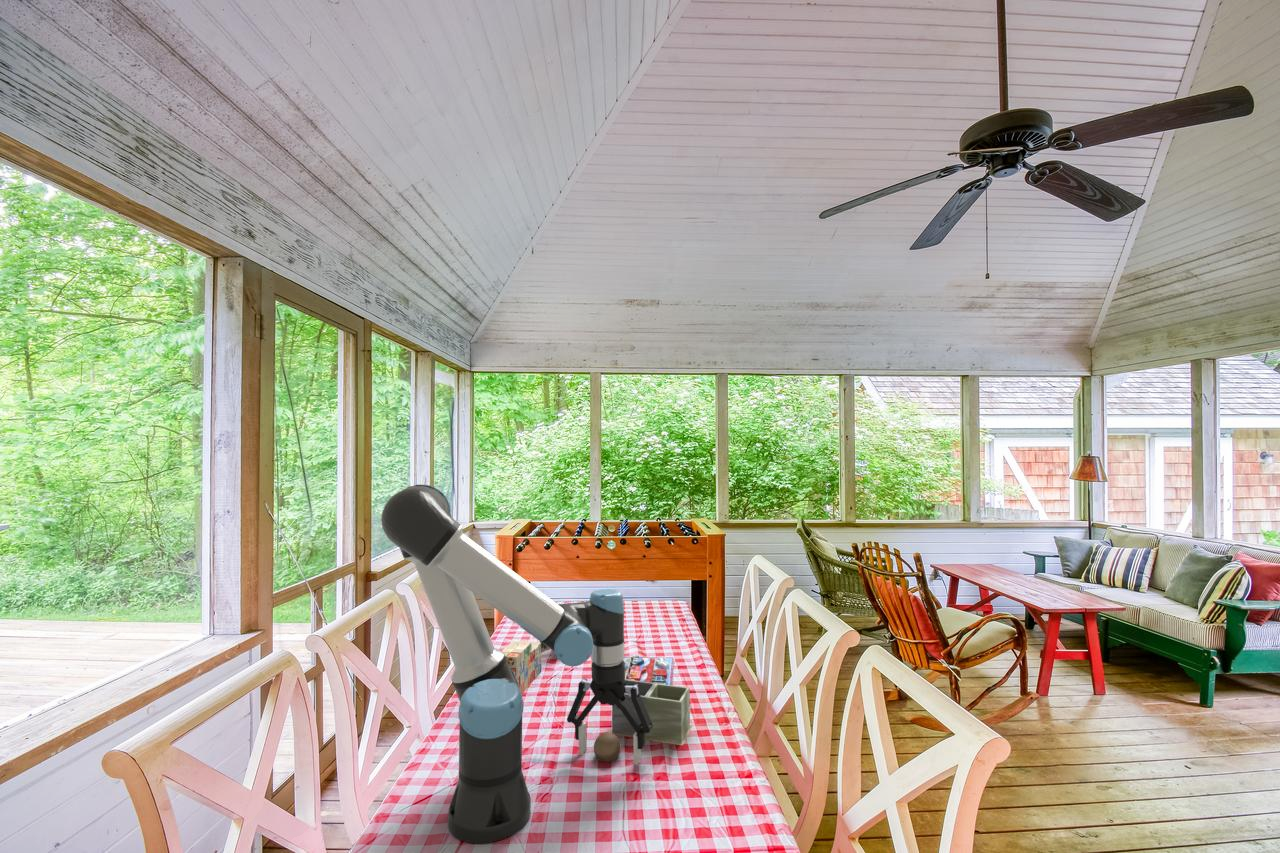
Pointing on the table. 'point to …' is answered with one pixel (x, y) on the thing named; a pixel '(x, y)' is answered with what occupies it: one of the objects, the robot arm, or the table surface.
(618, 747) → the walnut ball
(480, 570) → the robot arm
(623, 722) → the divided open bin
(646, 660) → the puzzle board
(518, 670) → the stack of blocks
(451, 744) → the table surface
